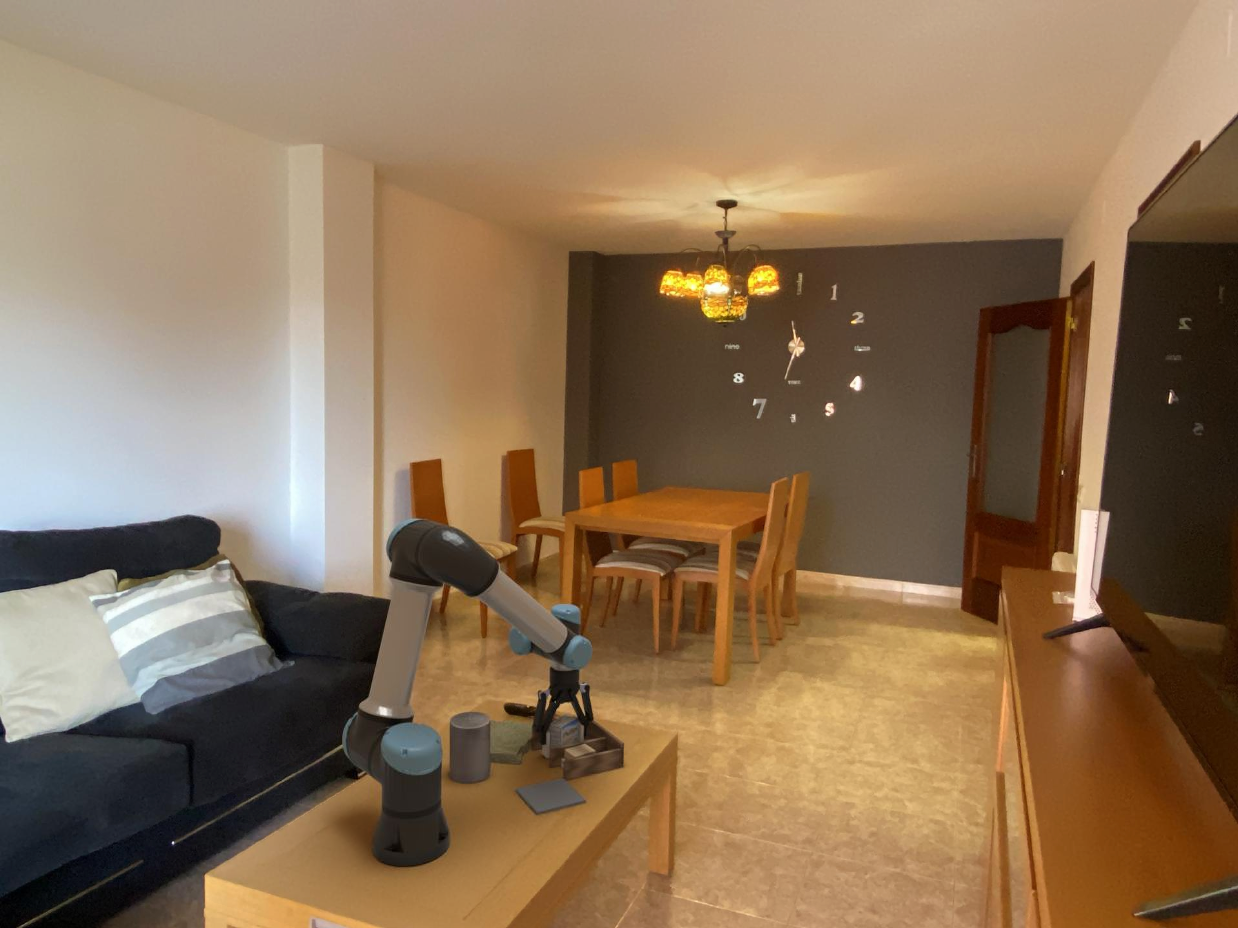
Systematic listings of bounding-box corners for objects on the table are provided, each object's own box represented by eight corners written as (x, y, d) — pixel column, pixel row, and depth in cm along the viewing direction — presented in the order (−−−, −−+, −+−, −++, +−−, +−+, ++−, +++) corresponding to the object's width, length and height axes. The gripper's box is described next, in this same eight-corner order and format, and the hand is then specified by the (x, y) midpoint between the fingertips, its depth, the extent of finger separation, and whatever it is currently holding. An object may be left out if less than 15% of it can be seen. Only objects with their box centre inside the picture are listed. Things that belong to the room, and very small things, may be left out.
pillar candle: (460, 762, 206) (460, 703, 204) (497, 768, 203) (497, 708, 202) (441, 780, 196) (441, 719, 195) (480, 786, 194) (480, 724, 192)
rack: (565, 780, 198) (565, 755, 197) (531, 748, 215) (531, 725, 214) (623, 766, 206) (624, 743, 205) (586, 736, 223) (587, 715, 222)
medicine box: (561, 760, 208) (562, 727, 207) (546, 756, 210) (547, 723, 210) (578, 749, 215) (579, 717, 214) (564, 745, 217) (565, 713, 216)
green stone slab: (450, 761, 207) (451, 748, 207) (473, 729, 227) (473, 716, 227) (524, 767, 205) (525, 753, 205) (540, 734, 225) (541, 721, 225)
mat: (537, 814, 182) (537, 812, 182) (515, 790, 192) (515, 788, 192) (585, 802, 188) (586, 799, 188) (562, 779, 198) (562, 777, 198)
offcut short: (574, 766, 201) (574, 756, 201) (564, 759, 205) (564, 749, 204) (595, 760, 204) (595, 750, 204) (585, 753, 208) (585, 743, 208)
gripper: (531, 677, 202) (530, 766, 204) (609, 664, 213) (607, 749, 215) (519, 667, 208) (517, 754, 210) (595, 655, 219) (593, 738, 221)
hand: (562, 752), depth 213 cm, fingers closed on medicine box, 9 cm apart
